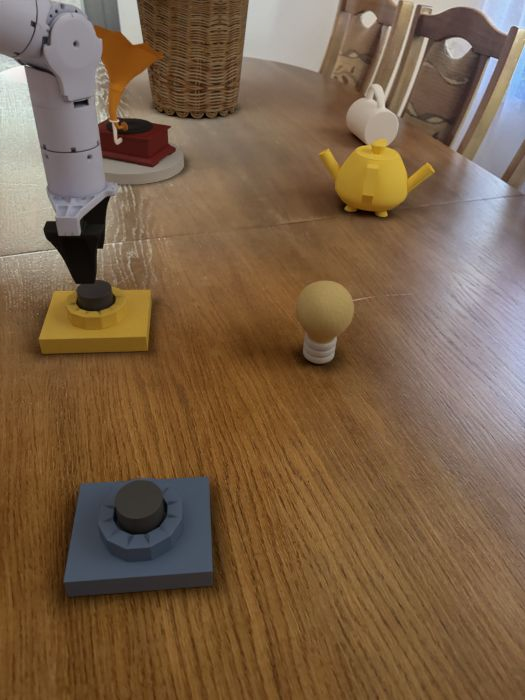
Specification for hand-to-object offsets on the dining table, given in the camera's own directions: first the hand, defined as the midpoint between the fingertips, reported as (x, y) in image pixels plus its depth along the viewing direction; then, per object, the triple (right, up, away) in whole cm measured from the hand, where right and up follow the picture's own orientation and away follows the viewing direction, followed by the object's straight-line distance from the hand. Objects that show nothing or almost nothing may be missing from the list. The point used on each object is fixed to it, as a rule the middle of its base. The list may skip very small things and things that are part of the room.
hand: (90, 264), depth 63 cm
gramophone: (-6, +27, +47) cm, 55 cm away
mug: (+44, +38, +65) cm, 87 cm away
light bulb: (+26, -11, +3) cm, 28 cm away
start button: (+10, -23, -19) cm, 31 cm away
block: (+10, -26, -17) cm, 32 cm away
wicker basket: (+2, +52, +80) cm, 95 cm away
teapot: (+38, +16, +38) cm, 56 cm away
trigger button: (0, -4, +3) cm, 5 cm away
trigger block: (0, -7, +6) cm, 9 cm away
